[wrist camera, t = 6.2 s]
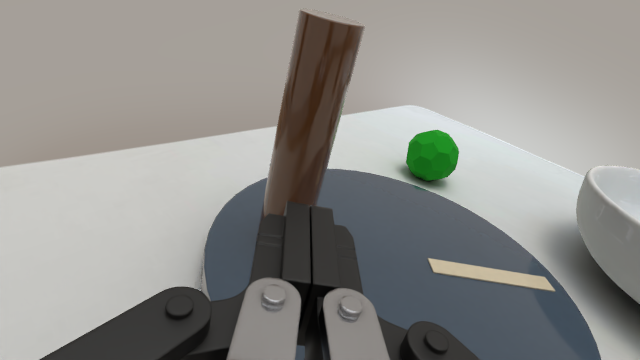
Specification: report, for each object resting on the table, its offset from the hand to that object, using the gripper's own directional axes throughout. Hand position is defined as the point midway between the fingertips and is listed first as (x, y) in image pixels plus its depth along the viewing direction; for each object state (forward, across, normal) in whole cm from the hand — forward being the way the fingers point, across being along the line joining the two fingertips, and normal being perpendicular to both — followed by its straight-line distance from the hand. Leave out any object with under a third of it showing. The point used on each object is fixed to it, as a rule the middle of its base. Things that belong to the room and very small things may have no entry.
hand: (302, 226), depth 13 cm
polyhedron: (+23, -14, +8) cm, 28 cm away
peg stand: (+7, -7, +8) cm, 13 cm away
